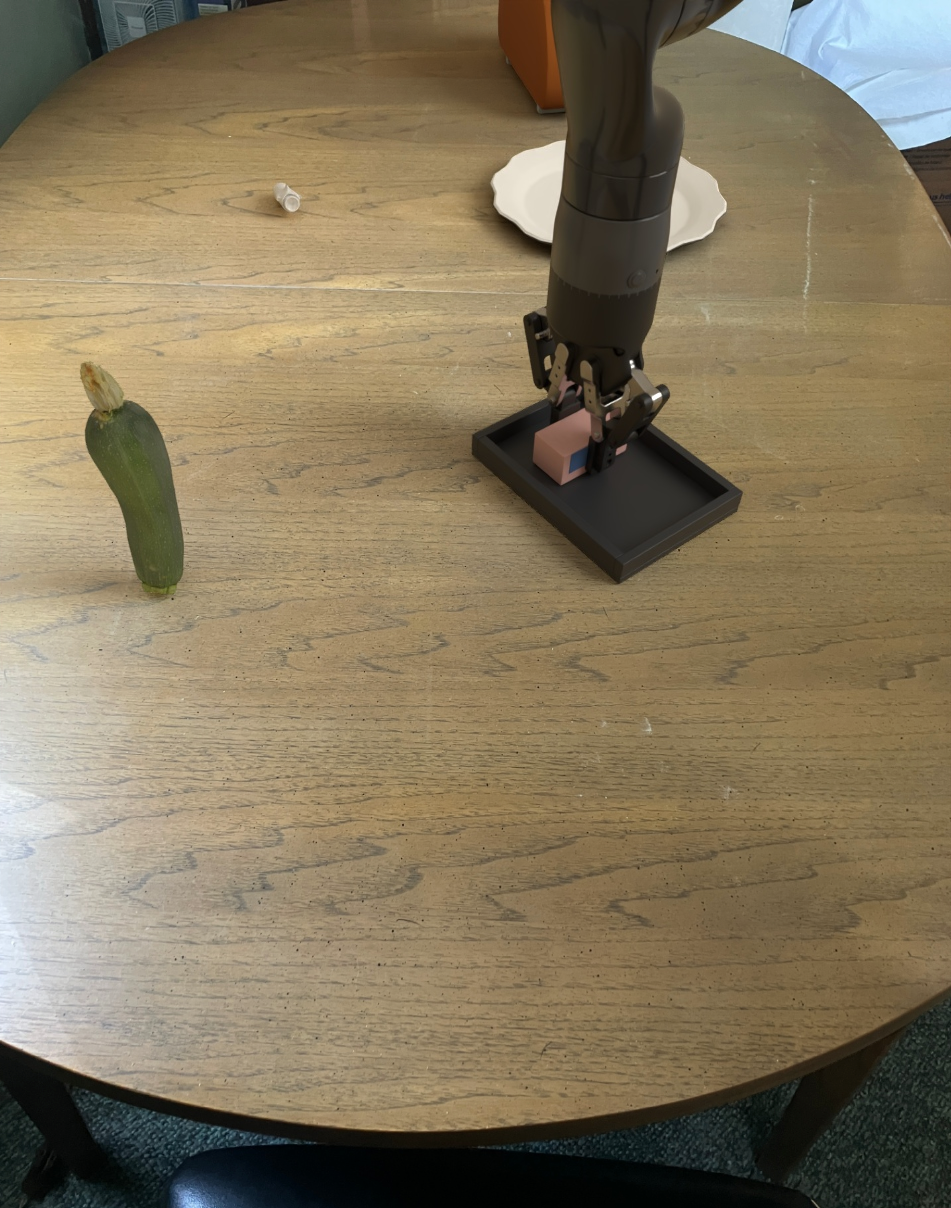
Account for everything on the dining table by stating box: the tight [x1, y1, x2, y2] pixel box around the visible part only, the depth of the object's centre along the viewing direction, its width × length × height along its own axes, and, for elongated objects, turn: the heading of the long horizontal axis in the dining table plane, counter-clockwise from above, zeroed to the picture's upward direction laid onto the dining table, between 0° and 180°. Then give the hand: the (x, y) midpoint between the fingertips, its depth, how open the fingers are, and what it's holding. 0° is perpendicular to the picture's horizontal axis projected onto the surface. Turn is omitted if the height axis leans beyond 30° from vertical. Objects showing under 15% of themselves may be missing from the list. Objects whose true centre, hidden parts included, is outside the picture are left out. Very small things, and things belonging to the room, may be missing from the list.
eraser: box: [533, 408, 627, 485], centre depth 75 cm, size 4×7×3 cm, turn 128°
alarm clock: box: [497, 0, 565, 115], centre depth 117 cm, size 23×9×17 cm, turn 13°
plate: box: [489, 139, 728, 254], centre depth 103 cm, size 25×25×2 cm
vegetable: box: [79, 360, 185, 595], centre depth 60 cm, size 4×4×20 cm
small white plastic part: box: [272, 182, 302, 213], centre depth 101 cm, size 4×6×3 cm, turn 177°
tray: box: [471, 388, 744, 585], centre depth 75 cm, size 18×13×2 cm
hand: (579, 453), depth 76 cm, fingers closed on eraser, 3 cm apart
